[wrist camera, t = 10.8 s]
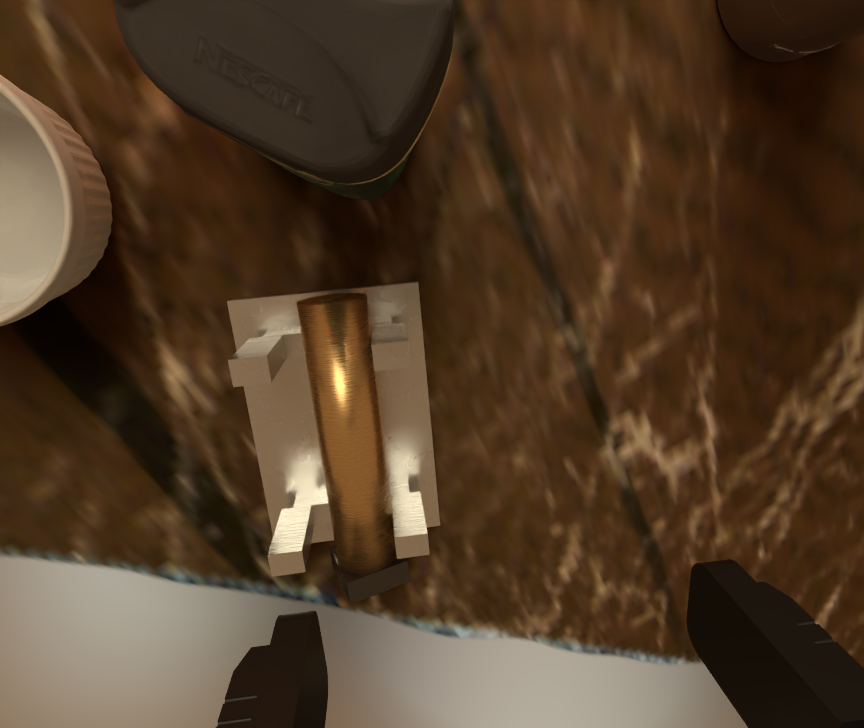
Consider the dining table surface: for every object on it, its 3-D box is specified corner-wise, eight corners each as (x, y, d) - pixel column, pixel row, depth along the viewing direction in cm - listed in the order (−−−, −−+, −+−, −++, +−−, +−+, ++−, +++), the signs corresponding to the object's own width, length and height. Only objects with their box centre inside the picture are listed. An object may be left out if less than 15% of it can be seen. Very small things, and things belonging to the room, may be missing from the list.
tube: (289, 300, 31) (304, 309, 27) (355, 290, 32) (378, 297, 29) (333, 567, 36) (350, 604, 33) (387, 548, 38) (410, 581, 34)
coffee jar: (436, 95, 31) (520, -63, 13) (381, 218, 33) (391, 222, 15) (282, 7, 29) (142, -316, 11) (232, 143, 31) (38, 45, 13)
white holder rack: (230, 299, 33) (194, 320, 26) (417, 280, 34) (428, 296, 27) (277, 541, 38) (257, 610, 32) (438, 519, 39) (452, 582, 32)
